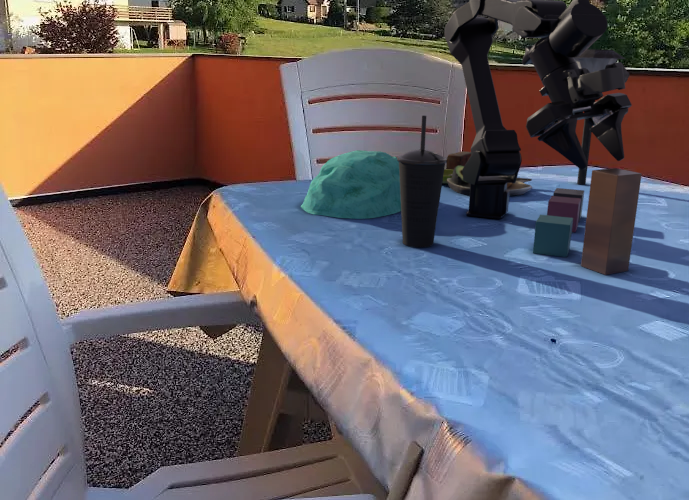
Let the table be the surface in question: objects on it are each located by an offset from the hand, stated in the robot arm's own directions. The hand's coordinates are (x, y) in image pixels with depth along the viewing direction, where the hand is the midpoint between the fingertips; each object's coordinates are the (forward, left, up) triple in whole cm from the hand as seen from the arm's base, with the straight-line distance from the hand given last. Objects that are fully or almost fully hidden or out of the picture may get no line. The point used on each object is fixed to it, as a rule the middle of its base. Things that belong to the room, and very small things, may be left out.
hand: (603, 164), depth 106 cm
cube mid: (-6, +14, -14) cm, 20 cm away
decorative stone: (-45, +17, -14) cm, 50 cm away
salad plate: (-25, +42, -14) cm, 50 cm away
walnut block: (+2, -8, -14) cm, 16 cm away
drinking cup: (-26, -7, -14) cm, 30 cm away
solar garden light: (-6, +59, -14) cm, 60 cm away
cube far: (-6, +22, -14) cm, 26 cm away
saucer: (-34, +46, -13) cm, 59 cm away
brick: (-35, +62, -14) cm, 72 cm away
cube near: (-6, -2, -14) cm, 15 cm away
